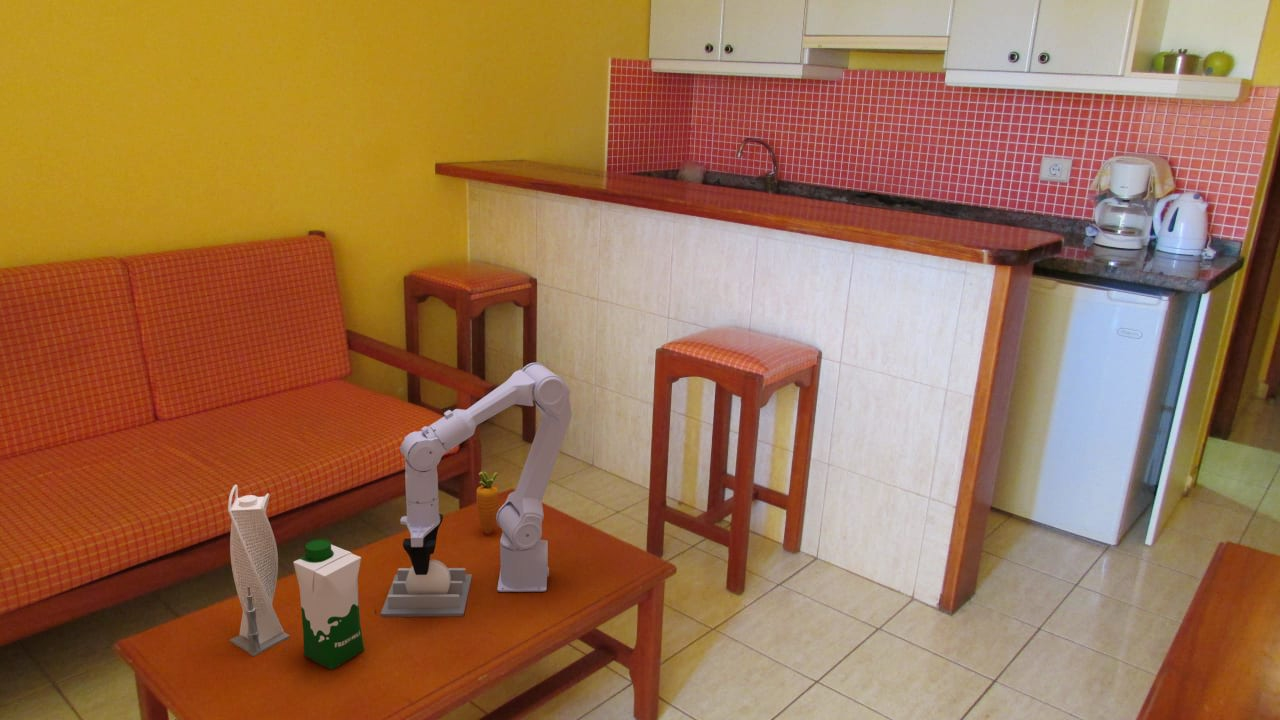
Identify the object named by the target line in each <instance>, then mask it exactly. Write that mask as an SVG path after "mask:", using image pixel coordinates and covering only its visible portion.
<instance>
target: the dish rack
mask: <svg viewBox="0 0 1280 720" xmlns="http://www.w3.org/2000/svg"><path fill="white" fill-rule="evenodd" d="M410 568H411V567H410ZM410 568H405V567H403V568H402V567H401V568H399V567H398V568H397V574H395V575H394V578H393V580H392V583H391V585H390V588H389V591H388V594H387V596H386V598H385V601H384V604H383V606H382V609H381V612H380V617H381V618H386V617H387V618H388V617H389V618H390V617H391V618H392V617H396V618H397V617H398V618H399V617H401V618H402V617H404V618H406V617H409V618H410V617H411V618H412V617H415V618H416V617H464V615H465V610H466V605H467V601H468V596H469V592H470V587H471V585H472V584H471V582H472V579H473V575H472V573H471V574H470V573H468V574H467V573H466V568H465V567H447V568H448V569H449V571H450V574H451V582H450V586H449V590H448V592H447V594H421V595H409V594H408V592H407V589H406V579H407V576H408V573H409V570H410Z"/></svg>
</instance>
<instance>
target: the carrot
mask: <svg viewBox="0 0 1280 720" xmlns="http://www.w3.org/2000/svg"><path fill="white" fill-rule="evenodd" d="M498 475H499V473H498V472H494V473H493V474H492V477H491V478H490V476H489V474H488V473H487V471H486V472H485V471H480V472H479V473H478V476H479V478H480V481H479V484H480V486H478V487H477V489H476V494H475V495H476V509H477V513H478V518H479V522H480V524H481V527H482V529H483V531H484V533H485V534H486V535H490V534H491V533H492V531H493V529H494V528H495V526H496V524H497V520H496V516H497V512H498V510H499V504H500V503H499V501H500V498H499V497H500V492H499V489H498V487H497V486H496V485H494V482H495V480H496V478H497V477H498Z"/></svg>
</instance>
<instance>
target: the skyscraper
mask: <svg viewBox="0 0 1280 720" xmlns="http://www.w3.org/2000/svg"><path fill="white" fill-rule="evenodd" d="M238 487H239V485H237V483H236V484H234V485H233V486H232V488H231V490H230V493H229V497H228V503H227V512H228V514H229V517H230V519H231V523H230V524H231V525H230V537H229V539H230V540H229V541H230V542H229V545H230V546H229V551H230V552H229V553H230V554H229V555H230V563H231V569H232V571H231V572H232V576H233V580H234V584H235V588H236V594H237V596H238V599H239V603H240V606H241V608H242V616H241V622H240V628H239V634H238V635H236V636H235V637H232V638H231V639H229V642H230V644H232V643H233V644H232V645H234V644H235V645H234V646H235V647H237V646H238V648H239V647H240V648H241V650H242V649H243V650H242V651H243V652H245V651H246V652H245V653H247V654H248V655H250V654H251V655H250V656H252V657H256V656H258V655H259V654H261V653H263V651H264V652H265V651H267V650H269V649H271V648H273V647H275V646H277V645H278V643H279V644H280V642H281V643H282V642H285V641H286V640H288V639H290V638H291V637H290V636H291V635H290V634H288V633H286V632H285V630H284V629H283V627H282V625H281V623H280V620H279V618H278V615H277V613H276V611H275V609H274V606H273V601H274V598H275V592H276V587H277V583H278V572H279V571H278V570H279V554H278V547H277V542H276V538H275V535H274V531H273V529H272V525H271V523H270V521H269V518H268V515H267V507H268V504H269V500H270V497H271V496H270V494H269V493H268V492H267V493H266V494H265V495H264V496H257V495H254V494H249V495H244V496H241V497H239V496H238V495H239V491H238ZM233 495H234V502H233V503H232V501H233ZM276 644H277V645H276ZM240 648H239V649H240Z"/></svg>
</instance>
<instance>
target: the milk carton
mask: <svg viewBox="0 0 1280 720" xmlns="http://www.w3.org/2000/svg"><path fill="white" fill-rule="evenodd" d="M361 561H362V557H361V556H359V555H356V554H354V553H352V552H351V551H349V550H345V549H343V548H341V547H339V546H336V545H333V544H332V542H331V541H330V540H328V539H323V538H319V539H318V538H317V539H314V540H311V541H309V542H307V543H306V544H305V555H304V556H302V557H300V558H299V559H296V560H294V561H293V562H292V563H293V567H294V571H295V575H296V578H297V582H298V586H299V587H298V588H299V595H300V597H299V598H300V599H299V600H300V609H301V621H302V634H303V636H302V637H303V656H304V657H306V658H308V659H310V660H312V661H314V662H316V663H318V664H320V665H321V666H323V667H325V668H327V669H329V670H331V671H333V670H334V669H336V668H337V667H339V666H340V665H342V664H345V662H347V661H349V660H350V659H352V658H353V657H355V656H356V655H358V654H359V653H361V652H363V651H364V650H365V645H364V640H363V633H362V625H361V619H360V618H361V616H360V601H359V600H360V599H359V584H358V578H359V572H360V568H361V566H360V565H361Z"/></svg>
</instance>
